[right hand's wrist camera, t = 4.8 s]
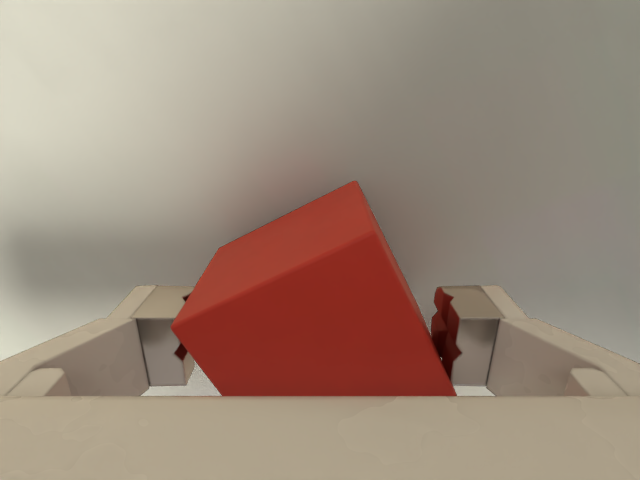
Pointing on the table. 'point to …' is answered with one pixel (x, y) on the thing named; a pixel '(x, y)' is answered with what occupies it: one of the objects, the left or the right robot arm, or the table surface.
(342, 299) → the brick
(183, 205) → the table surface
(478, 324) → the right robot arm
